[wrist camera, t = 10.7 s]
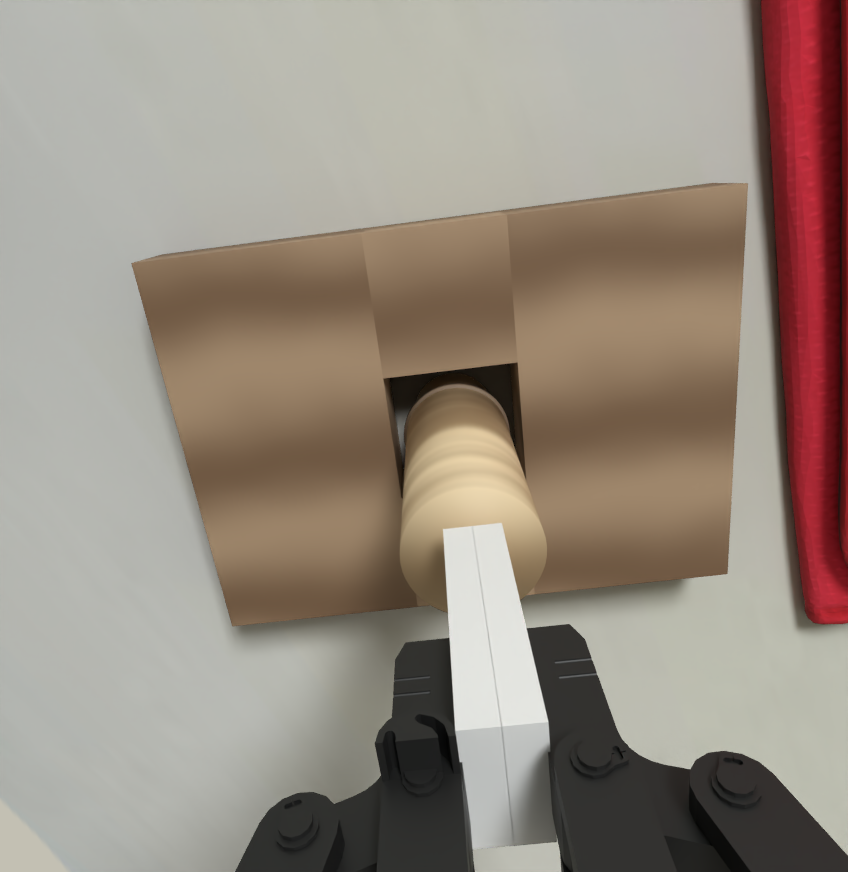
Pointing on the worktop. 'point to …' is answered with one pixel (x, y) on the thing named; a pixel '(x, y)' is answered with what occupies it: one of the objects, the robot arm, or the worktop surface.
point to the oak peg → (463, 485)
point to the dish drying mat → (813, 279)
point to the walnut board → (451, 350)
